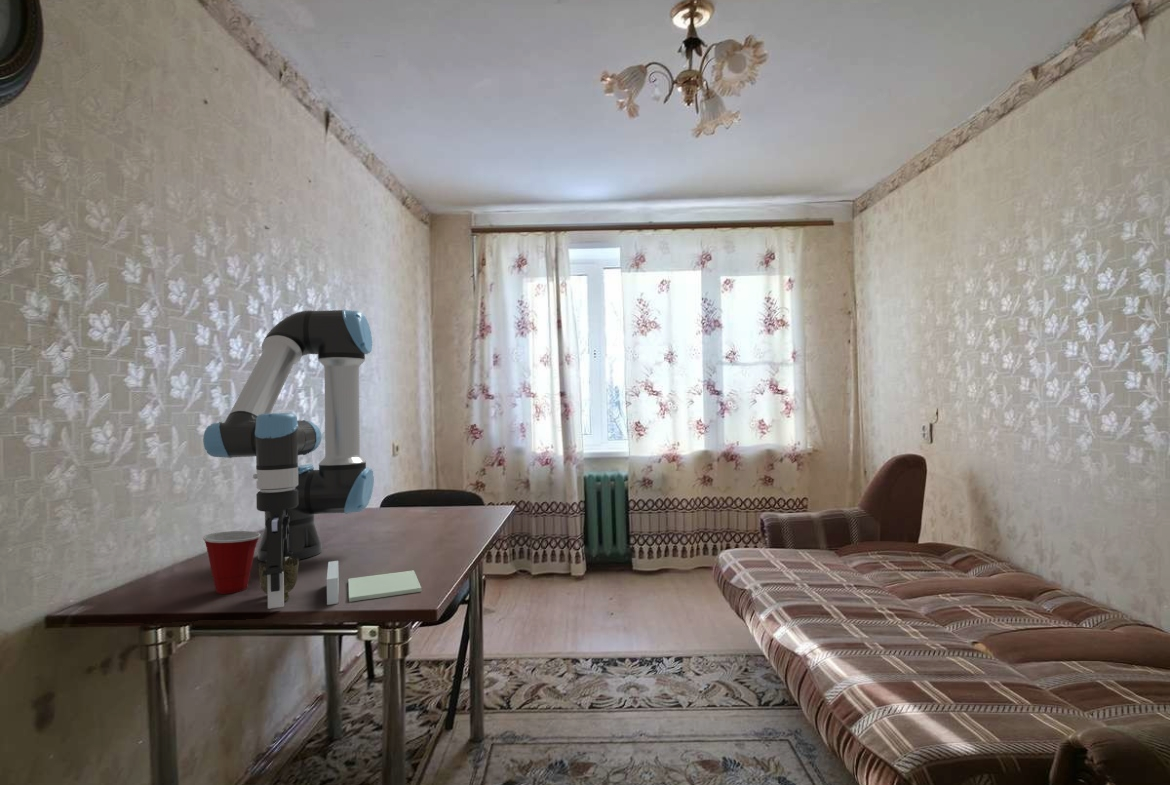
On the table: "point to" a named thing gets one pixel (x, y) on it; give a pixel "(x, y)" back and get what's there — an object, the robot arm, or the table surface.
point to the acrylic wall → (332, 583)
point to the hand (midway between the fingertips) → (279, 597)
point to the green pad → (383, 585)
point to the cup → (289, 575)
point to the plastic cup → (231, 559)
